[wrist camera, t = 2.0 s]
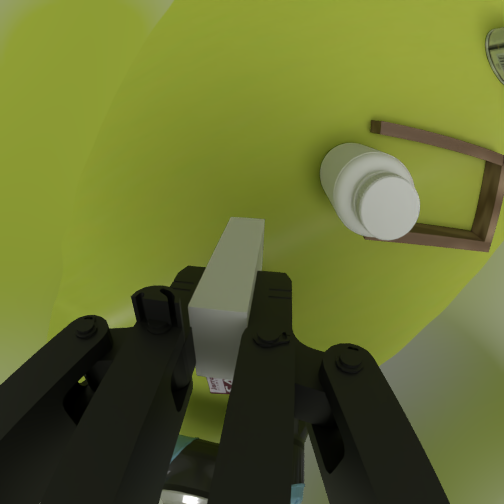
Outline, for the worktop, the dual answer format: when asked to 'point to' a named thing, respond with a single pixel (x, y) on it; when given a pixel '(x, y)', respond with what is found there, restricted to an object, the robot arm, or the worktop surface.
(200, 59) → the worktop surface
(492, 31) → the coffee can
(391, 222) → the pill bottle
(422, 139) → the frame
